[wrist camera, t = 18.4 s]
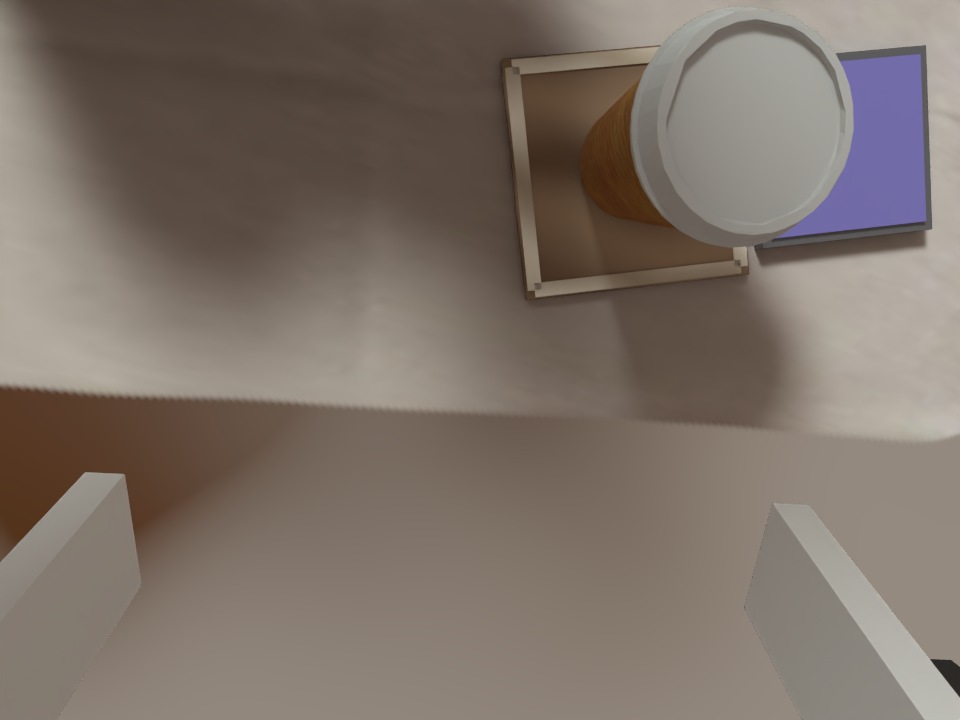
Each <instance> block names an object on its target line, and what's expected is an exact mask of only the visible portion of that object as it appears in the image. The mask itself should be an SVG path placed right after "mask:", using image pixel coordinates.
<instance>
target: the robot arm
mask: <svg viewBox="0 0 960 720" xmlns="http://www.w3.org/2000/svg"><path fill="white" fill-rule="evenodd" d="M141 585H142V584H141V578H140V571H139V565H138V558H137V552H136V546H135V539H134V532H133V526H132V520H131V513H130V506H129V500H128V494H127V487H126V480H125V474H109V473H87V472H85V473H84V474H83V475H82V476H81V478H79V480H78V481H77V482H76V483H75V484H74V485H73V486H72V487H71V488H70V489H69V490H68V491H67V492H66V493H65V494H64V495H63V496H62V498H61V499H60V500H59V501H58V502H57V503H56V504H55V505H54V506H53V507H52V508H51V509H50V510H49V511H48V512H47V513H46V515H45V516H44V517H43V518H42V519H41V520H40V521H39V522H38V523H37V524H36V525H35V526H34V527H33V528H32V529H31V530H30V532H29V533H28V534H27V535H26V536H25V537H24V538H23V539H22V540H21V541H20V542H19V543H18V544H17V546H15V547H14V549H13V550H12V551H11V552H10V553H9V554H8V555H7V556H6V557H5V558H4V559H3V560H2V561H1V562H0V720H57V719H58V717H59V715H60V714H61V712H62V711H63V709H64V707H65V706H66V704H67V703H68V701H69V699H70V698H71V696H72V695H73V693H74V691H75V690H76V688H77V687H78V685H79V684H80V682H81V680H82V679H83V677H84V676H85V674H86V672H87V671H88V669H89V667H90V666H91V664H92V663H93V661H94V659H95V658H96V656H97V655H98V653H99V652H100V650H101V648H102V647H103V645H104V644H105V642H106V640H107V639H108V637H109V636H110V634H111V632H112V631H113V629H114V628H115V626H116V625H117V623H118V621H119V620H120V618H121V617H122V615H123V613H124V612H125V610H126V609H127V607H128V605H129V604H130V602H131V601H132V599H133V597H134V596H135V594H136V593H137V591H138V589H139V588H140V586H141ZM744 608H745V610H746V612H747V614H748V616H749V618H750V620H751V622H752V624H753V625H754V628H755V630H756V632H757V633H758V635H759V637H760V639H761V641H762V643H763V645H764V647H765V649H766V651H767V653H768V655H769V657H770V659H771V661H772V663H773V665H774V666H775V668H776V670H777V672H778V674H779V676H780V678H781V680H782V682H783V684H784V686H785V688H786V690H787V692H788V693H789V696H790V698H791V699H792V701H793V703H794V705H795V707H796V709H797V711H798V713H799V715H800V717H801V719H802V720H960V667H959V666H958V665H957V664H955V663H954V662H953V661H951V660H935V659H933V660H932V659H929V658H928V657H927V655H926V654H925V653H924V651H923V650H922V649H921V648H920V646H919V645H918V644H917V643H916V641H915V640H914V639H913V637H912V636H911V635H910V634H909V632H908V631H907V630H906V628H905V627H904V626H903V625H902V624H901V622H900V621H899V619H898V618H897V617H896V616H895V614H894V613H893V612H892V611H891V609H890V608H889V607H888V606H887V604H886V603H885V602H884V600H883V599H882V598H881V597H880V595H879V594H878V593H877V592H876V590H875V589H874V588H873V586H872V585H871V584H870V583H869V581H868V580H867V579H866V577H865V576H864V575H863V574H862V572H861V571H860V570H859V568H858V567H857V566H856V565H855V563H854V562H853V561H852V559H851V558H850V557H849V556H848V554H847V553H846V552H845V551H844V549H843V548H842V547H841V545H840V544H839V543H838V542H837V540H836V539H835V538H834V537H833V535H832V534H831V533H830V531H829V530H828V529H827V528H826V526H825V525H824V524H823V522H822V521H821V520H820V519H819V517H818V516H817V515H816V513H815V512H814V511H813V510H812V508H811V507H810V506H809V505H807V504H784V503H783V504H782V503H772V506H771V509H770V513H769V517H768V521H767V524H766V528H765V532H764V536H763V539H762V543H761V547H760V551H759V554H758V558H757V562H756V566H755V570H754V573H753V577H752V581H751V584H750V588H749V592H748V596H747V599H746V603H745V607H744Z"/></svg>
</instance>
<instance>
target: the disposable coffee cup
mask: <svg viewBox="0 0 960 720" xmlns="http://www.w3.org/2000/svg"><path fill="white" fill-rule="evenodd" d="M853 130H854V123H853V101H852V96H851V90H850V85H849V82H848V79H847V77H846V74H845V71H844V69H843V67H842V65H841V63H840V61H839V59H838V57H837V55H836V53H835V52H834V50H833V49H832V48H831V47H830V46H829V45H828V43H827V42H826V41H825V40H824V39H823V38H822V36H821V35H820V34H819V33H818V32H817V31H815V30H814V29H812V28H811V27H810V26H808V25H807V24H805V23H804V22H802V21H801V20H799V19H798V18H796V17H794V16H791V15H787V14H783V13H779V12H776V11H772V10H768V9H760V8H752V7H729V8H724V9H718V10H713V11H709V12H707V13H705V14H703V15H701V16H699V17H697V18H695V19H693V20H691V21H689V22H687V23H686V24H684V25H683V26H682V27H681V28H679V29H678V30H677V31H676V32H675V33H673V34H672V35H671V36H670V37H669V38H668V39H667V40H666V41H665V42H664V43H663V44H662V45H661V46H660V47H659V48H658V50H657V51H656V53H655V55H654V56H653V58H652V59H651V61H650V63H649V64H648V66H647V67H646V69H645V71H644V72H643V75H642V77H641V78H640V79H639V80H638V81H637V82H636V83H635V84H634V85H633V86H632V87H631V88H629V89H628V91H627V92H625V93H624V95H623V96H622V97H620V98H619V100H617V101H616V102H615V104H613V105H612V107H611V108H609V109H608V111H607V112H606V113H605V114H604V115H603V116H601V117H600V118H599V119H598V120H597V121H596V123H595V124H594V125H593V126H592V127H591V129H590V131H589V133H588V135H587V136H586V138H585V141H584V144H583V147H582V153H581V174H582V179H583V182H584V185H585V187H586V190H587V192H588V193H589V195H590V196H591V198H592V199H593V201H594V202H595V203H596V204H597V205H598V206H599V207H600V208H601V209H602V210H604V211H605V212H606V213H608V214H609V215H612V216H614V217H617V218H620V219H624V220H631V221H636V222H641V223H646V224H650V225H656V226H661V227H666V228H671V229H676V230H679V231H681V232H682V233H684V234H686V235H688V236H690V237H692V238H694V239H695V240H697V241H700V242H704V243H707V244H711V245H716V246H721V247H728V248H733V247H748V246H753V245H757V244H761V243H765V242H767V241H770V240H772V239H774V238H776V237H779V236H781V235H783V234H784V233H786V232H787V231H789V230H790V229H792V228H793V227H795V226H796V225H797V224H798V223H799V222H800V221H801V220H803V219H804V218H805V217H806V216H808V215H809V214H810V213H812V212H813V211H814V210H815V209H816V208H817V207H818V206H819V205H820V204H821V203H822V202H823V201H824V200H825V199H826V198H827V196H828V195H829V193H830V192H831V190H832V189H833V187H834V185H835V184H836V182H837V180H838V178H839V176H840V175H841V173H842V171H843V169H844V167H845V164H846V161H847V158H848V155H849V151H850V147H851V142H852V136H853Z"/></svg>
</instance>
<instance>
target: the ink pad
mask: <svg viewBox="0 0 960 720" xmlns="http://www.w3.org/2000/svg"><path fill="white" fill-rule="evenodd" d="M836 55H837V57H838V59H839V61H840V63H841V65H842V67H843V69H844V71H845V74H846V77H847V79H848V82H849V85H850V90H851V96H852V101H853V123H854V130H853V136H852V142H851V147H850V151H849V155H848V158H847V161H846V164H845V167H844V169H843V171H842V173H841V175H840V176H839V178H838V180H837V182H836V184H835V185H834V187H833V189H832V190H831V192H830V193H829V195H828V196H827V198H826V199H825V200H824V201H823V202H822V203H821V204H820V205H819V206H818V207H817V208H816V209H815V210H814V211H813V212H812V213H810V214H809V215H808V216H806V217H805V218H804V219H803V220H801V221H800V222H799V223H798V224H797V225H796V226H795V227H793V228H792V229H790V230H789V231H787V232H786V233H784V234H783V235H781V236H779V237H776V238H774V239H772V240H770V241H767V242H765V243H761V244H757V245H755V249H762V248H771V247H780V246H789V245H798V244H806V243H815V242H824V241H833V240H842V239H850V238H859V237H868V236H877V235H886V234H895V233H903V232H912V231H921V230H930V229H932V211H931V182H930V152H929V123H928V93H927V64H926V45H924V46H912V47H901V48H890V49H879V50H868V51H857V52H846V53H836Z"/></svg>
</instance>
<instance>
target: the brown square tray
mask: <svg viewBox="0 0 960 720" xmlns="http://www.w3.org/2000/svg"><path fill="white" fill-rule="evenodd" d="M660 46H661V45H659V46H647V47H636V48H624V49H612V50H601V51H589V52H578V53H566V54H555V55H543V56H532V57H520V58H509V59H502V60H501V69H502V78H503V88H504V98H505V107H506V117H507V127H508V136H509V146H510V155H511V165H512V175H513V184H514V194H515V204H516V213H517V223H518V232H519V242H520V252H521V261H522V271H523V281H524V290H525V300H532V299H541V298H549V297H558V296H566V295H575V294H584V293H592V292H601V291H609V290H618V289H626V288H635V287H644V286H652V285H661V284H669V283H678V282H686V281H695V280H704V279H712V278H721V277H729V276H738V275H747V274H749V266H748V250H747V247H733V248H728V247H721V246H716V245H711V244H707V243H704V242H700V241H697V240H695V239H694V238H692V237H690V236H688V235H686V234H684V233H682V232H681V231H679V230H676V229H671V228H666V227H661V226H656V225H650V224H646V223H641V222H636V221H631V220H624V219H620V218H617V217H614V216H612V215H609V214H608V213H606V212H605V211H604V210H602V209H601V208H600V207H599V206H598V205H597V204H596V203H595V202H594V201H593V199H592V198H591V196H590V195H589V193H588V192H587V190H586V187H585V185H584V182H583V179H582V174H581V153H582V147H583V144H584V141H585V138H586V136H587V135H588V133H589V131H590V129H591V127H592V126H593V125H594V124H595V123H596V121H597V120H598V119H599V118H600V117H601V116H603V115H604V114H605V113H606V112H607V111H608V109H609V108H611V107H612V105H613V104H615V102H616V101H617V100H619V98H620V97H622V96H623V95H624V93H625V92H627V91H628V89H629V88H631V87H632V86H633V85H634V84H635V83H636V82H637V81H638V80H639V79H640V78H641V77H642V75H643V72H644V71H645V69H646V67H647V66H648V64H649V63H650V61H651V59H652V58H653V56H654V55H655V53H656V51H657V50H658V48H659V47H660Z"/></svg>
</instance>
